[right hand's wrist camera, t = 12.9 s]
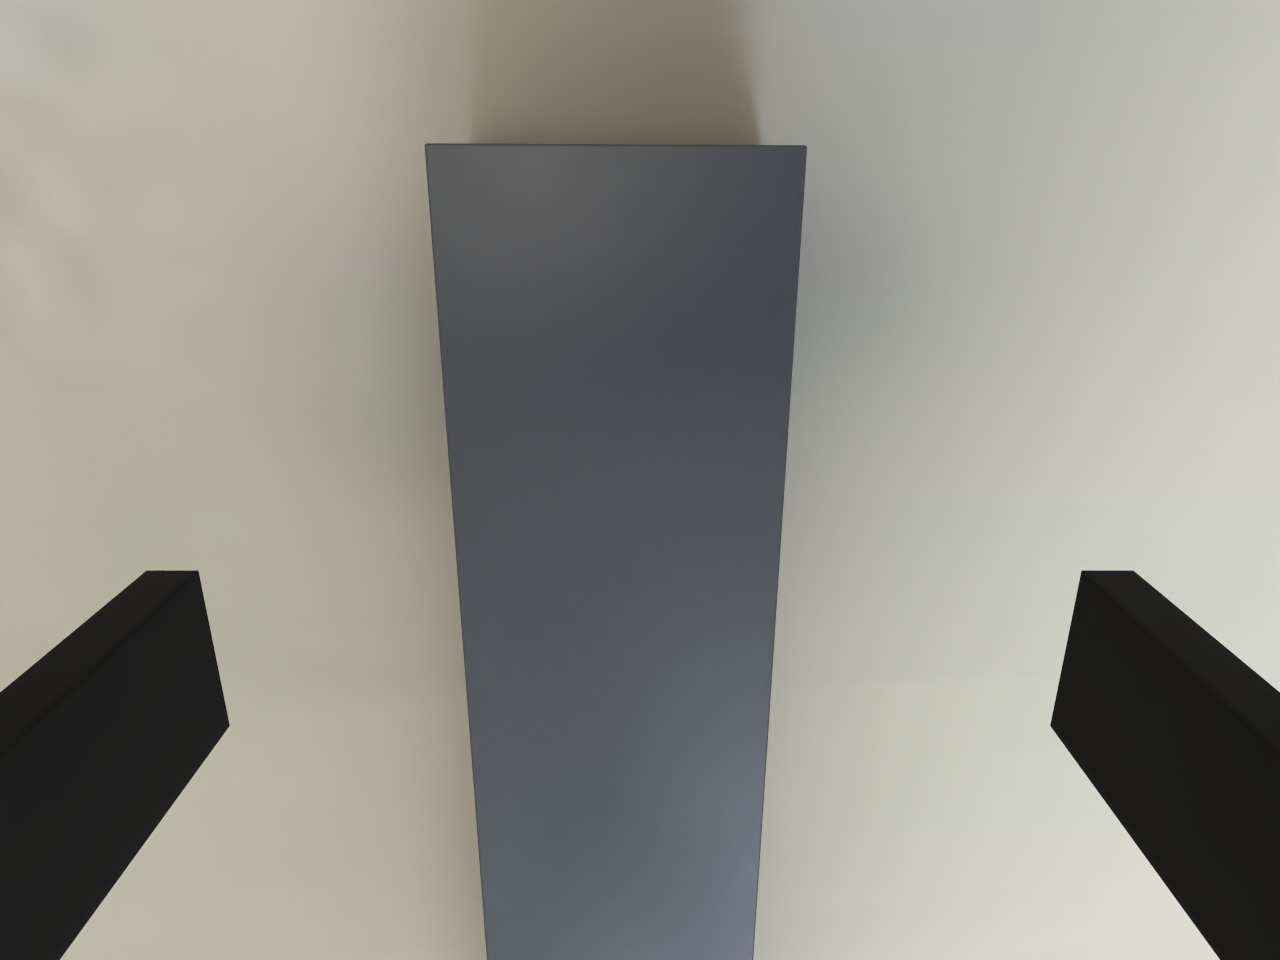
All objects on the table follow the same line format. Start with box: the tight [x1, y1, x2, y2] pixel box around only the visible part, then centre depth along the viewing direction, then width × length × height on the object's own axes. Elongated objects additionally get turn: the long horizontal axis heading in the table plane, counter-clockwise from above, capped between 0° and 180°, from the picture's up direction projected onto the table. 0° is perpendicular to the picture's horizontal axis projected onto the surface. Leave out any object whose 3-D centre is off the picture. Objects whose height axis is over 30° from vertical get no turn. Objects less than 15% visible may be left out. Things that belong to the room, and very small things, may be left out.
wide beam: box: [425, 143, 807, 960], centre depth 35 cm, size 60×10×7 cm, turn 0°
